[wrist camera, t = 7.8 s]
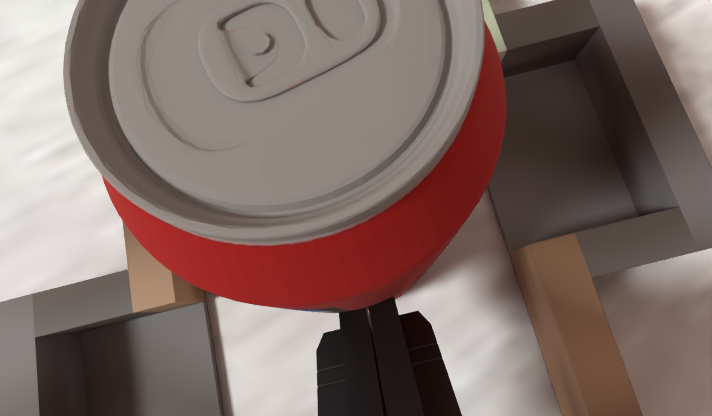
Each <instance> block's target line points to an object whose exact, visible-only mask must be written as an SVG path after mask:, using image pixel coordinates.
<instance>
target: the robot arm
mask: <svg viewBox="0 0 712 416" xmlns="http://www.w3.org/2000/svg"><path fill="white" fill-rule="evenodd" d="M368 309H369V312H368ZM339 318H340V329H339V330H335V331H330V332H326V333H324V334H323V336H322V339H321V341H320V343H319V346H318V348H317V351H316V352H317V372H318V373H317V385H318V389H317V394H318V416H462V414H461V411H460V408H459V406H458V403H457V400H456V397H455V394H454V391H453V388H452V385H451V382H450V379H449V376H448V373H447V370H446V367H445V364H444V361H443V359H442V355H441V352H440V349H439V346H438V344H437V341H436V338H435V335H434V332H433V329H432V326H431V324H430V323H429V322H428V321H427V320H426V318H425V317H424V316H423V315H422V314H421V313H420V312H419V311H415V312H411V313H407V314H402V315H398V311H397V307H396V303H395V299H394V296H393V297H391V298H389V299H387V300H385V301H383V302H380V303H378V304H375V305H372V306H369V307H368V308H362V309H358V310H352V311H347V312H339Z"/></svg>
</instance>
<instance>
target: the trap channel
mask: <svg viewBox="0 0 712 416" xmlns="http://www.w3.org/2000/svg"><path fill="white" fill-rule="evenodd" d="M481 1H482V7H483V12H484V20H485V22H486V24H487V26H488V28H489V30H490V32H491V34H492V37H493V39H494V42H495V44H496V47H497V50H498V54H499V57H500V61H501V65H502V71H503V76H504V82H505V92H506V121H505V130H504V136H503V141H502V146H501V150H500V154H499V157H498V160H497V163H496V166H495V169H494V172H493V174H492V176H491V179H490V181H489V183H488V186H487V188H488V191H489V194H490V197H491V200H492V203H493V206H494V209H495V212H496V215H497V219H498V222H499V225H500V228H501V231H502V234H503V237H504V240H505V243H506V246H507V249H508V252H509V255H510V258H511V261H512V264H513V267H514V270H515V273H516V276H517V279H518V282H519V285H520V288H521V291H522V294H523V297H524V300H525V303H526V307H527V310H528V313H529V316H530V319H531V322H532V325H533V328H534V331H535V334H536V337H537V340H538V343H539V346H540V349H541V352H542V355H543V358H544V361H545V364H546V367H547V370H548V373H549V376H550V379H551V382H552V385H553V388H554V391H555V394H556V398H557V401H558V404H559V407H560V410H561V413H562V416H643V415H642V413H641V410H640V407H639V405H638V402H637V399H636V397H635V394H634V391H633V389H632V386H631V383H630V380H629V378H628V375H627V372H626V370H625V367H624V364H623V362H622V359H621V356H620V354H619V351H618V348H617V345H616V343H615V340H614V337H613V335H612V332H611V329H610V327H609V324H608V321H607V318H606V316H605V313H604V310H603V308H602V305H601V302H600V300H599V297H598V294H597V292H596V289H595V286H594V283H593V281H592V278H593V277H597V276H601V275H605V274H609V273H613V272H617V271H621V270H625V269H629V268H633V267H637V266H641V265H645V264H649V263H653V262H657V261H661V260H665V259H669V258H673V257H677V256H681V255H685V254H689V253H693V252H697V251H701V250H705V249H709V248H712V167H711V165H710V163H709V161H708V159H707V157H706V155H705V152H704V150H703V148H702V146H701V144H700V142H699V140H698V137H697V135H696V133H695V131H694V129H693V127H692V125H691V122H690V120H689V118H688V116H687V114H686V112H685V110H684V107H683V105H682V103H681V101H680V99H679V97H678V95H677V92H676V90H675V88H674V86H673V84H672V82H671V80H670V77H669V75H668V73H667V71H666V69H665V67H664V65H663V62H662V60H661V58H660V56H659V54H658V52H657V50H656V47H655V45H654V43H653V41H652V39H651V37H650V35H649V32H648V30H647V28H646V26H645V24H644V22H643V20H642V17H641V15H640V13H639V11H638V9H637V7H636V5H635V2H634V0H553V1H549V2H545V3H542V4H538V5H534V6H530V7H526V8H522V9H519V10H515V11H511V12H507V13H503V14H499V15H496V16H494V14H493V11H492V9H491V6H490V3H489V1H488V0H481ZM123 228H124V237H125V246H126V254H127V263H128V270H125V271H121V272H117V273H113V274H109V275H105V276H101V277H97V278H93V279H89V280H86V281H82V282H78V283H74V284H70V285H66V286H62V287H58V288H54V289H50V290H46V291H42V292H38V293H34V294H30V295H26V296H22V297H19V298H15V299H11V300H7V301H3V302H0V416H224V413H223V406H222V400H221V393H220V387H219V380H218V374H217V367H216V361H215V354H214V348H213V342H212V335H211V329H210V322H209V316H208V309H207V303H206V296H205V290H203V289H201V288H199V287H197V286H195V285H193V284H191V283H189V282H187V281H185V280H183V279H182V278H180V277H179V276H177V275H176V274H174V273H173V272H171V271H170V270H168V269H167V268H166V267H165V266H163V265H162V264H161V263H160V262H158V261H157V260H156V259H155V258H154V257H153V256H152V255H151V254H150V253H149V252H148V251H147V250H146V249H145V248H144V247H143V246H142V245H141V244H140V243H139V242H138V240H137V239H136V238H135V237H134V236H133V234H132V233H131V232H130V230H129V229H128V227H127V226H126V225H125V223H124V222H123Z"/></svg>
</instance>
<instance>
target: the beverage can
mask: <svg viewBox="0 0 712 416" xmlns="http://www.w3.org/2000/svg"><path fill="white" fill-rule="evenodd" d="M63 77H64V90H65V97H66V102H67V107H68V111H69V114H70V118H71V122H72V125H73V127H74V129H75V132H76V134H77V136H78V138H79V140H80V142H81V144H82V146H83V148H84V150H85V152H86V154H87V155H88V157H89V158H90V160H91V161H92V163H93V164H94V165H95V167H96V168H97V169H98V171H99V172H100V173H101V174H102V177H103V180H104V184H105V186H106V189H107V191H108V194H109V196H110V198H111V201H112V203H113V204H114V206H115V208H116V210H117V212H118V214H119V216H120V217H121V219H122V220H123V222H124V223H125V225H126V226H127V227H128V229H129V230H130V232H131V233H132V234H133V236H134V237H135V238H136V239H137V240H138V242H139V243H140V244H141V245H142V246H143V247H144V248H145V249H146V250H147V251H148V252H149V253H150V254H151V255H152V256H153V257H154V258H155V259H156V260H157V261H158V262H160V263H161V264H162V265H163V266H165V267H166V268H167V269H168V270H170V271H171V272H173V273H174V274H176V275H177V276H179V277H180V278H182V279H183V280H185V281H187V282H189V283H191V284H193V285H195V286H197V287H199V288H201V289H203V290H205V291H208V292H210V293H213V294H215V295H218V296H221V297H225V298H228V299H231V300H235V301H239V302H244V303H249V304H254V305H261V306H269V307H276V308H284V309H292V310H301V311H312V312H325V313H339V312H347V311H352V310H358V309H362V308H368V307H369V306H372V305H375V304H378V303H380V302H383V301H385V300H387V299H389V298H391V297H393V296H394V299H396V298H398V297H399V296H401V295H402V294H403V293H405V292H406V291H407V290H408V289H409V288H410V287H411V286H412V285H413V284H414V283H415V282H416V281H417V280H418V279H419V278H420V277H421V276H422V275H423V274H424V273H425V272H426V271H427V270H428V268H429V267H430V266H431V265H432V263H433V262H434V261H435V260H436V259H437V257H438V256H439V255H440V254H441V252H442V251H443V250H444V249H445V247H446V246H447V245H448V244H449V242H450V241H451V240H452V238H453V237H454V236H455V234H456V233H457V232H458V230H459V229H460V228H461V226H462V225H463V224H464V222H465V221H466V220H467V218H468V217H469V215H470V214H471V212H472V211H473V209H474V208H475V207H476V205H477V204H478V202H479V200H480V198H481V197H482V195H483V193H484V191H485V189H486V187H487V186H488V183H489V181H490V179H491V176H492V174H493V172H494V169H495V166H496V163H497V160H498V157H499V154H500V150H501V146H502V141H503V136H504V130H505V121H506V92H505V82H504V76H503V71H502V65H501V61H500V57H499V54H498V50H497V47H496V44H495V42H494V39H493V37H492V34H491V32H490V30H489V28H488V26H487V24H486V22H485V20H484V12H483V7H482V1H481V0H79V2H78V4H77V6H76V8H75V11H74V13H73V17H72V20H71V24H70V27H69V31H68V35H67V40H66V45H65V54H64V69H63ZM368 310H369V309H368Z"/></svg>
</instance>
